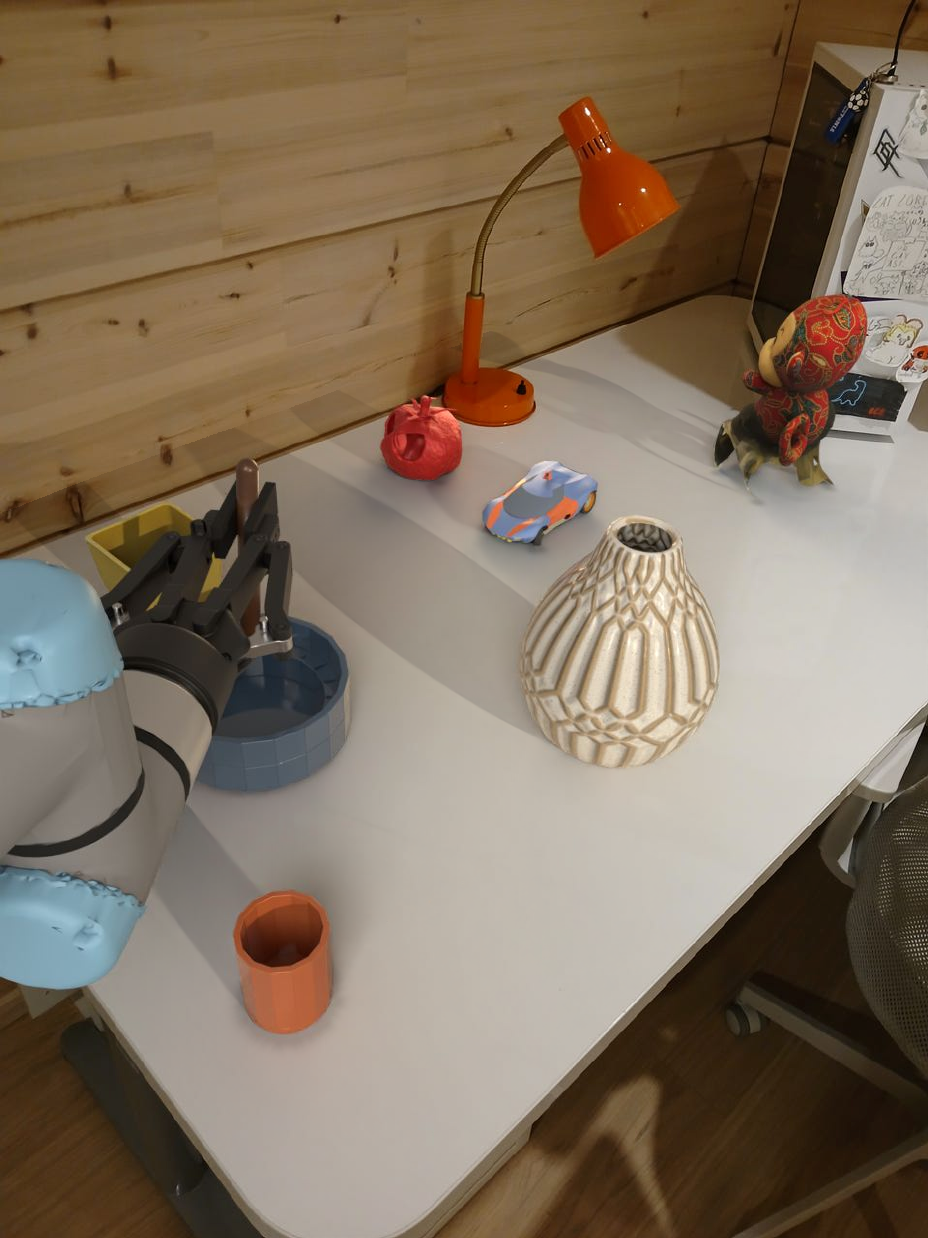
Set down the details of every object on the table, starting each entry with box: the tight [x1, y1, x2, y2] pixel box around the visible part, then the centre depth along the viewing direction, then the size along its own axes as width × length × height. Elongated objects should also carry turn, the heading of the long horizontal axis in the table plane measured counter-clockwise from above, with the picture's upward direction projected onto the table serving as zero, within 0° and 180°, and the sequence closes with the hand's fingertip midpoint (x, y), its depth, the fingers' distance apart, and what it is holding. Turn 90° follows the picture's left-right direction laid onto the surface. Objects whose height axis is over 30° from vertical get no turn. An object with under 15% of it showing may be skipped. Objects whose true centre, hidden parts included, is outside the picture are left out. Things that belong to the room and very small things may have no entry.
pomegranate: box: [379, 394, 463, 481], centre depth 112 cm, size 10×10×9 cm
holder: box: [232, 889, 334, 1035], centre depth 60 cm, size 6×6×7 cm
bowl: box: [194, 612, 351, 793], centre depth 78 cm, size 15×15×6 cm
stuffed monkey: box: [712, 293, 868, 498], centre depth 108 cm, size 15×17×25 cm
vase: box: [518, 514, 721, 769], centre depth 76 cm, size 16×16×20 cm
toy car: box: [481, 460, 599, 547], centre depth 106 cm, size 8×15×5 cm, turn 142°
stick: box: [235, 457, 262, 660], centre depth 72 cm, size 2×2×16 cm
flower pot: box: [84, 500, 223, 611], centre depth 88 cm, size 9×9×9 cm
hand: (257, 496), depth 72 cm, fingers closed on stick, 1 cm apart
